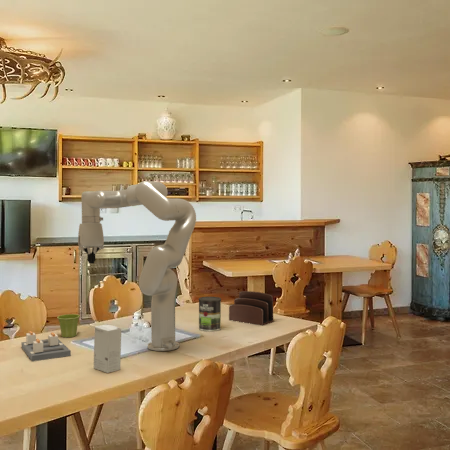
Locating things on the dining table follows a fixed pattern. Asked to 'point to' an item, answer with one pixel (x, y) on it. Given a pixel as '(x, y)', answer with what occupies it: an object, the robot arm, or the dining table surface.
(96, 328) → the skincare box
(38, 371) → the dining table surface
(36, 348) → the tab
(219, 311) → the coffee can
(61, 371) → the dining table surface
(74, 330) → the plant pot
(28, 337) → the tab
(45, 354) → the switch bank
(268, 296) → the letter holder
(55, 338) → the tab
